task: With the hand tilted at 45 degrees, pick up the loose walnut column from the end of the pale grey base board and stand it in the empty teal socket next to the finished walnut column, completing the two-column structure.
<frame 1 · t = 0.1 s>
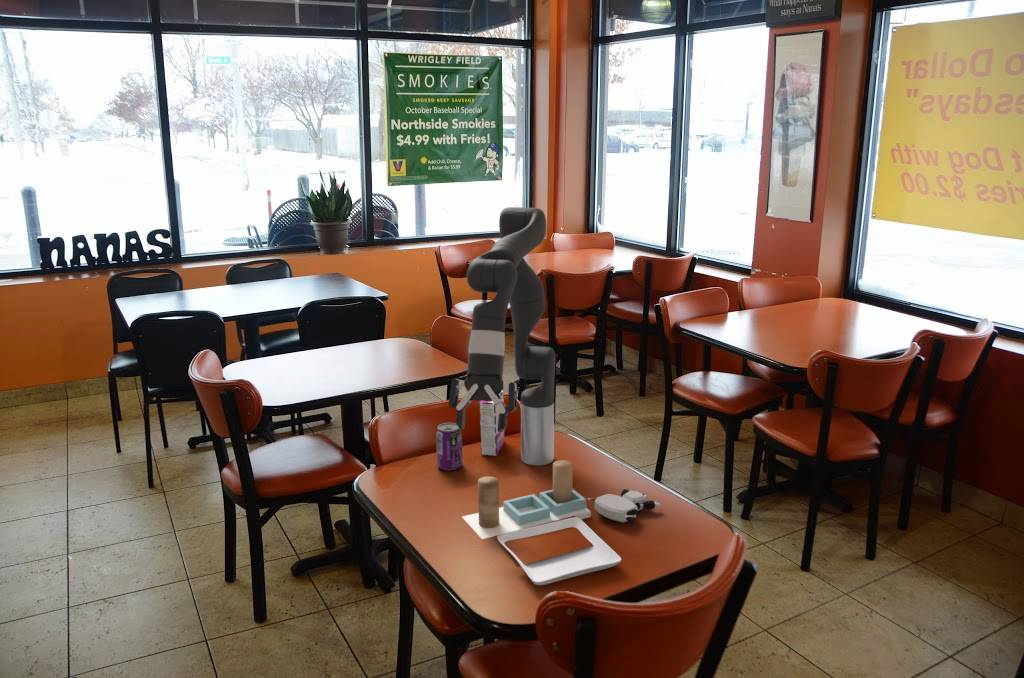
hand: (480, 430, 170), 31 cm above the table, tool tilted 20°, fingers open, 8 cm apart
base board: (526, 519, 198), on the table
walnut column: (489, 523, 193), point 1 cm above the table, touching base board
robot toy: (624, 514, 201), on the table
candy bar box: (492, 449, 239), on the table
salad plate: (557, 560, 181), on the table
beverage can: (450, 467, 227), on the table
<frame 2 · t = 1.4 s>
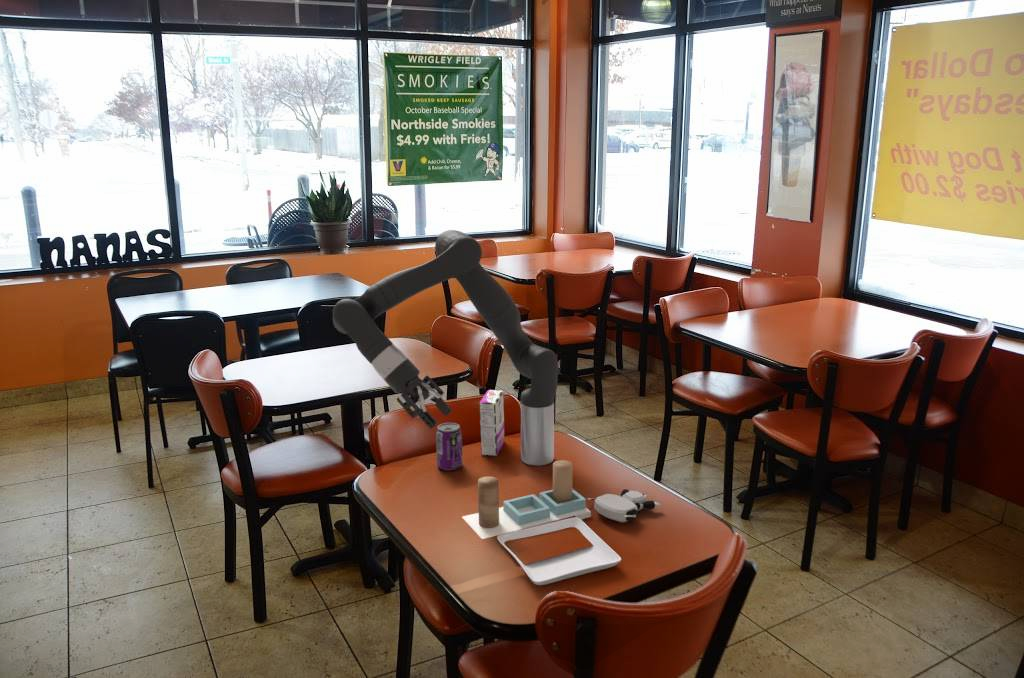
hand: (442, 419, 190), 27 cm above the table, tool tilted 45°, fingers open, 8 cm apart
nothing on the table moved.
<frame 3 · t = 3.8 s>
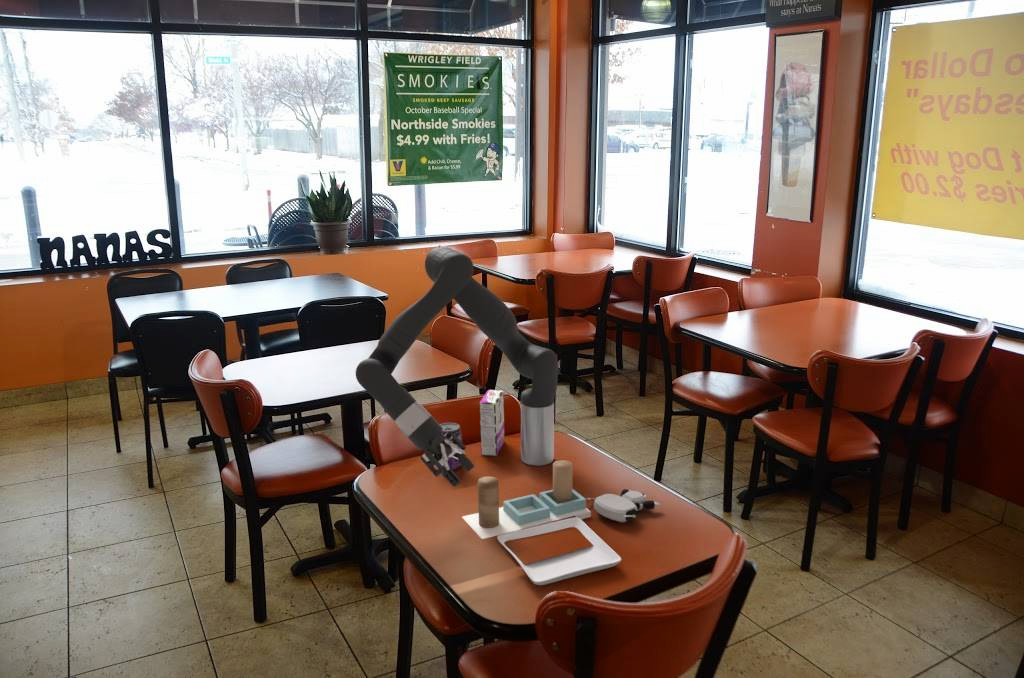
hand: (464, 476, 192), 13 cm above the table, tool tilted 45°, fingers open, 8 cm apart
nothing on the table moved.
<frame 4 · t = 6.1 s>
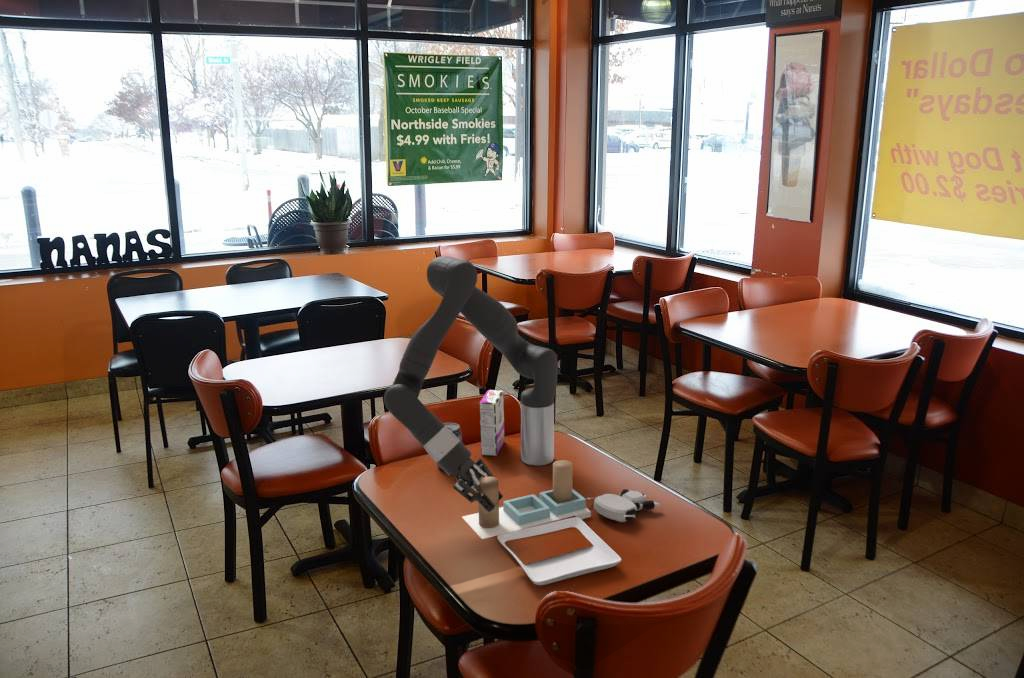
hand: (496, 503, 191), 7 cm above the table, tool tilted 45°, fingers closed on walnut column, 4 cm apart
walnut column: (489, 523, 193), point 2 cm above the table, touching base board, gripper
everything else where it was.
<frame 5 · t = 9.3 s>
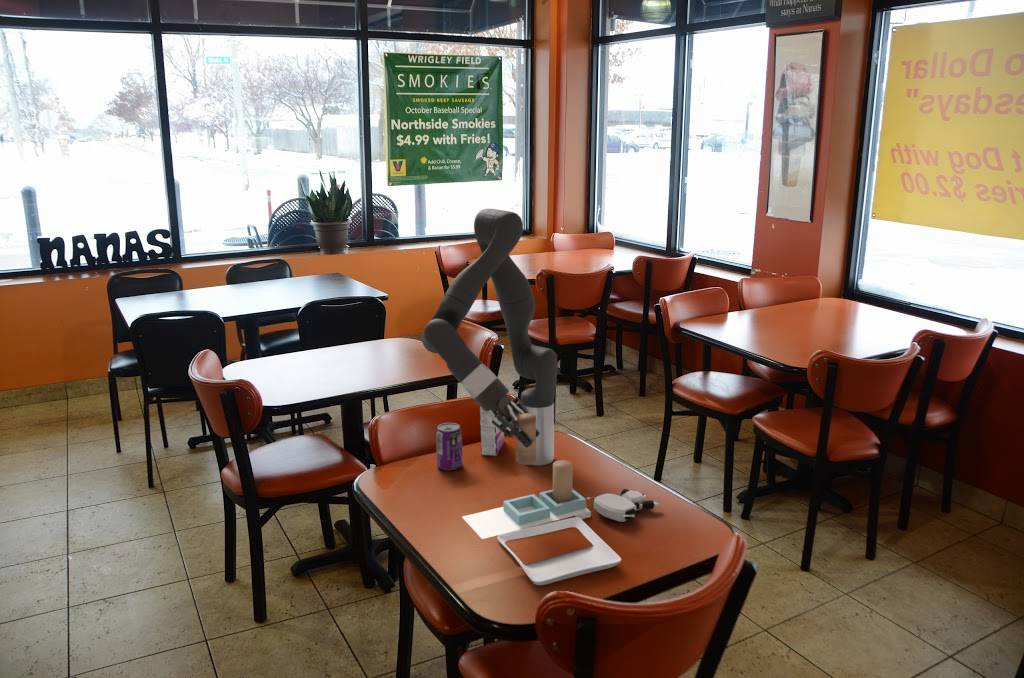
hand: (533, 440, 191), 21 cm above the table, tool tilted 45°, fingers closed on walnut column, 4 cm apart
walnut column: (525, 460, 193), point 16 cm above the table, touching gripper
everything else where it was.
when the fingers open (8 cm above the table, at t = 12.7 s): walnut column drops 1 cm, resting on base board.
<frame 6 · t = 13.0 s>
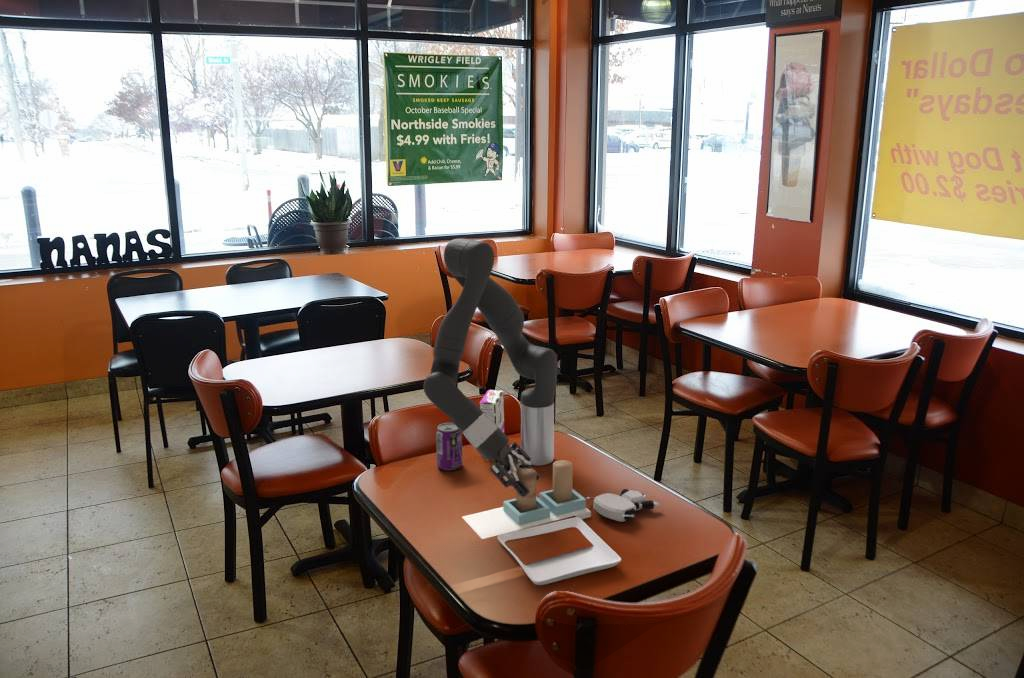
hand: (531, 486, 195), 9 cm above the table, tool tilted 45°, fingers open, 8 cm apart
walnut column: (526, 513, 197), point 2 cm above the table, touching base board
everything else where it was.
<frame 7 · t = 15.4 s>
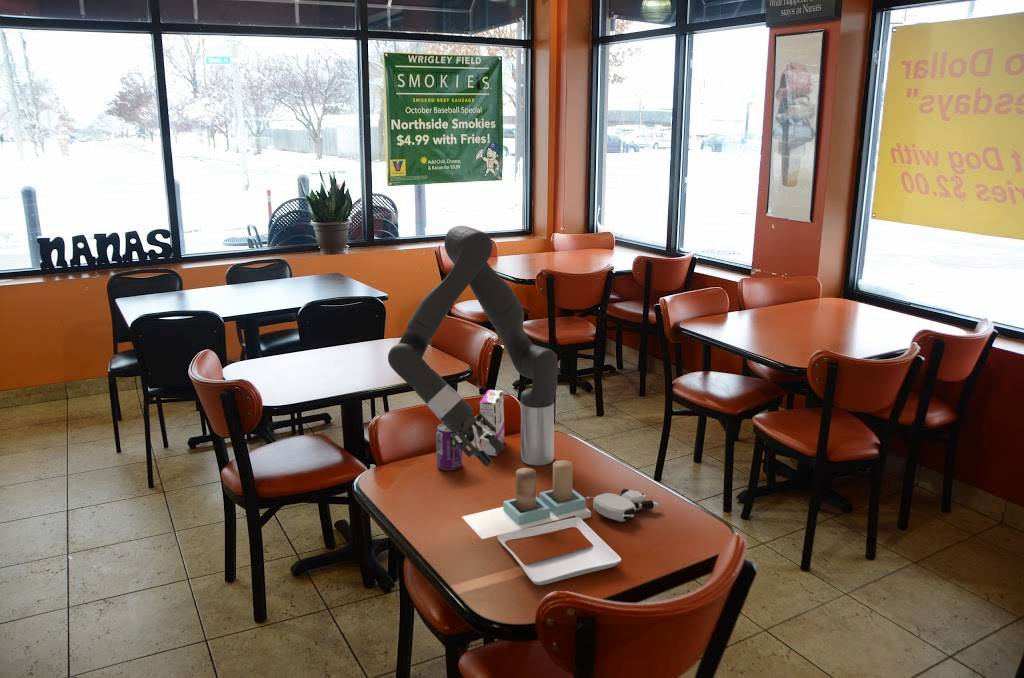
hand: (496, 456, 196), 15 cm above the table, tool tilted 45°, fingers open, 8 cm apart
nothing on the table moved.
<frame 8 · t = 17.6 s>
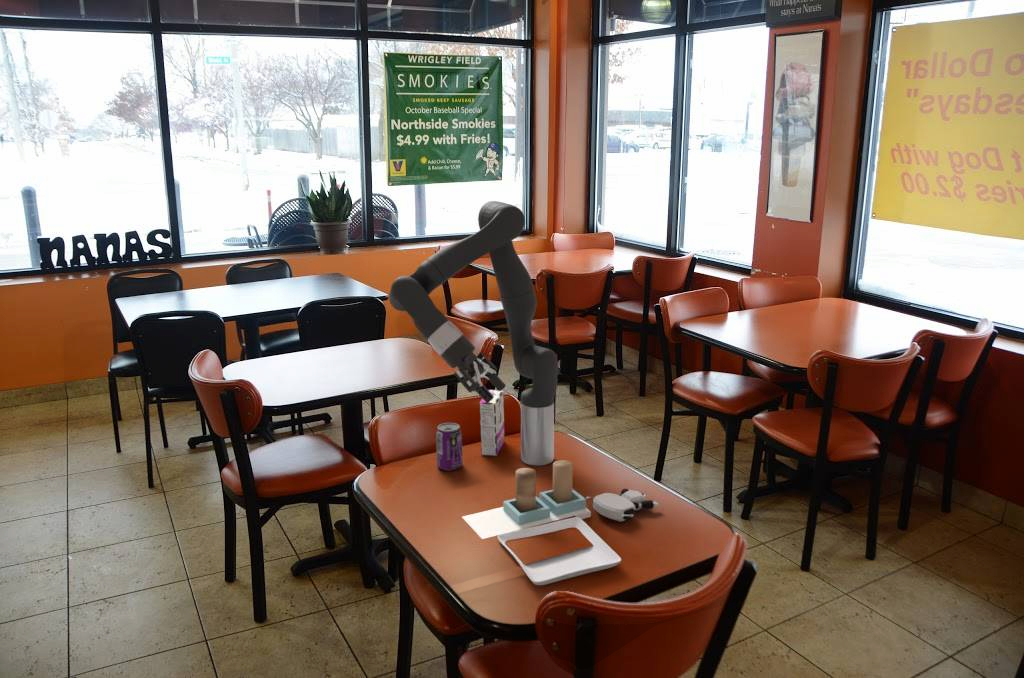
hand: (497, 394, 194), 31 cm above the table, tool tilted 45°, fingers open, 8 cm apart
nothing on the table moved.
at the end: walnut column 0.1 cm from the target spot, point 1.5 cm above the table; walnut column tilted 1°; the gripper is holding nothing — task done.
